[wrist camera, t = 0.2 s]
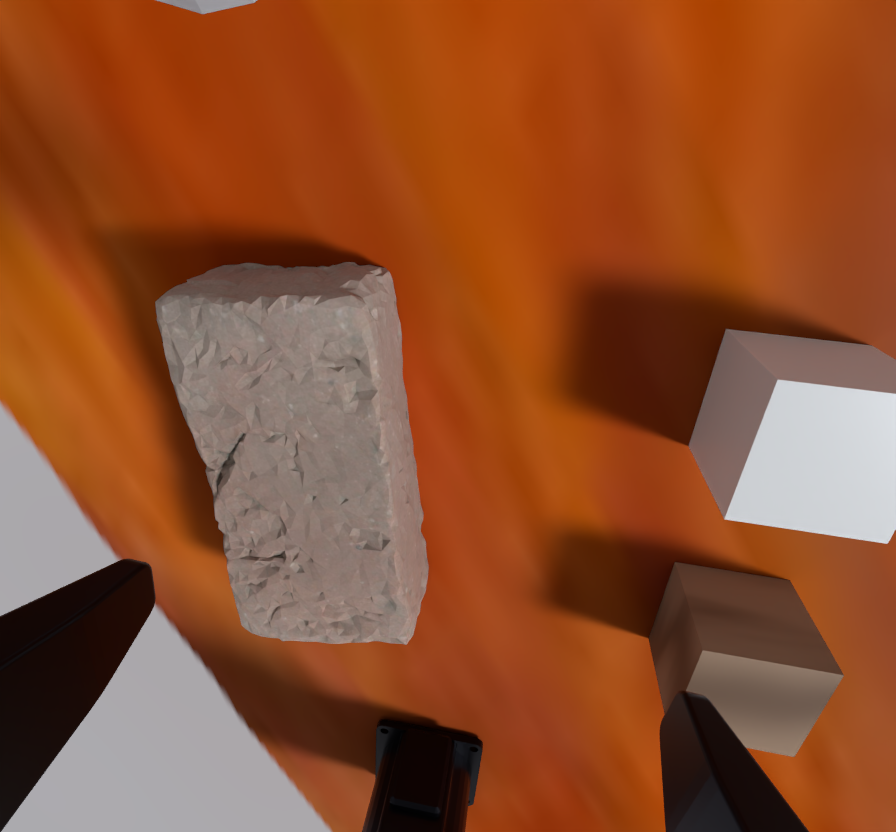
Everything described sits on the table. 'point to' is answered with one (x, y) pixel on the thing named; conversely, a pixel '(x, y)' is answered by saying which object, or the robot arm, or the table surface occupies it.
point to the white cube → (801, 435)
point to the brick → (304, 445)
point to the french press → (207, 4)
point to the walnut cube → (744, 654)
